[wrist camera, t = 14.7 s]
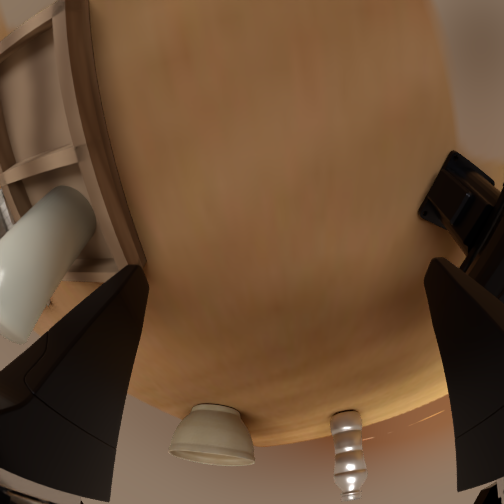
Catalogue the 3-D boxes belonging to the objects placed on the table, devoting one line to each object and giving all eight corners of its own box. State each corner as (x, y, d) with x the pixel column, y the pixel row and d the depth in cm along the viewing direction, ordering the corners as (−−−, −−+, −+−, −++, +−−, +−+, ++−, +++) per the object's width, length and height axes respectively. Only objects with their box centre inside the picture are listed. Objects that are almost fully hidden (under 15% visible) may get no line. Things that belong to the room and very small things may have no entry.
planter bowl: (209, 424, 56) (204, 465, 48) (160, 399, 48) (150, 447, 40) (271, 418, 51) (269, 465, 42) (227, 391, 43) (221, 452, 34)
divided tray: (88, -1, 11) (64, -4, 8) (146, 260, 25) (136, 282, 23) (-5, 60, 12) (-27, 66, 9) (59, 262, 26) (46, 280, 24)
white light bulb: (108, 221, 22) (35, 334, 12) (77, 251, 24) (17, 350, 14) (63, 172, 19) (-33, 266, 9) (37, 209, 21) (-37, 298, 11)
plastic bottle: (329, 410, 48) (334, 502, 32) (363, 405, 46) (371, 496, 31) (328, 419, 51) (332, 502, 36) (358, 414, 50) (365, 497, 35)
